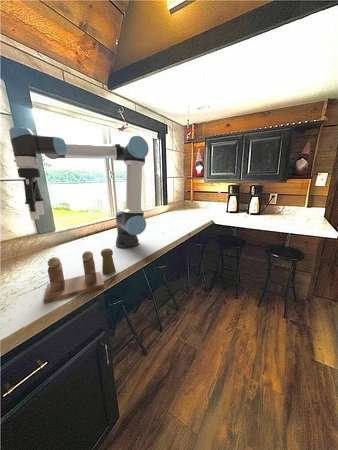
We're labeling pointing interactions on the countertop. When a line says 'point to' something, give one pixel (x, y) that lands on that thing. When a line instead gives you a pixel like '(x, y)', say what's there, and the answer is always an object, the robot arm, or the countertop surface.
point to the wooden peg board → (71, 280)
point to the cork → (107, 262)
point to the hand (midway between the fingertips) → (38, 217)
